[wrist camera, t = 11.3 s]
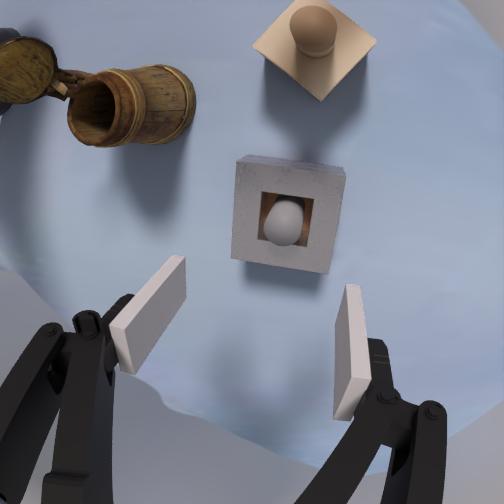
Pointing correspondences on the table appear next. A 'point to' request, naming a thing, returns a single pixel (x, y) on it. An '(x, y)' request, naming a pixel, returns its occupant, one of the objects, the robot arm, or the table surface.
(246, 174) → the square metal nut
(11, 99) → the wooden mug
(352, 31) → the stand
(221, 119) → the table surface
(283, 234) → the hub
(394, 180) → the table surface
